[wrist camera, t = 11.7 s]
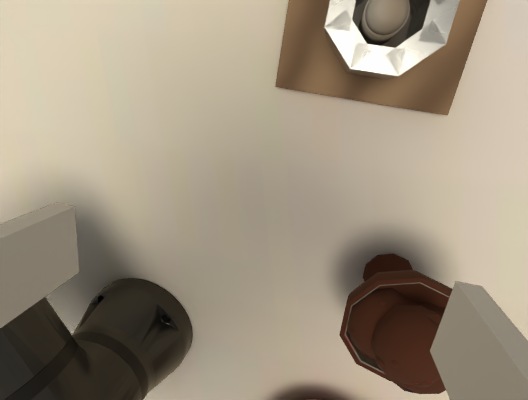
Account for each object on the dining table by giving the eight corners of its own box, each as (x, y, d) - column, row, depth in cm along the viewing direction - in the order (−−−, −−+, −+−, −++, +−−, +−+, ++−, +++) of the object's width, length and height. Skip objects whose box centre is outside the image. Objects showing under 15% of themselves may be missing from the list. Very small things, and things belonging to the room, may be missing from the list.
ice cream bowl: (319, 273, 38) (311, 376, 24) (394, 211, 34) (435, 293, 20) (382, 331, 39) (409, 463, 25) (463, 278, 35) (548, 400, 21)
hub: (320, 69, 29) (317, 63, 23) (342, -38, 26) (344, -73, 20) (414, 84, 28) (434, 82, 22) (447, -27, 25) (479, -61, 19)
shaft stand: (277, 86, 33) (256, 85, 24) (300, -55, 29) (285, -119, 20) (442, 114, 30) (485, 123, 22) (493, -36, 26) (570, -99, 18)
